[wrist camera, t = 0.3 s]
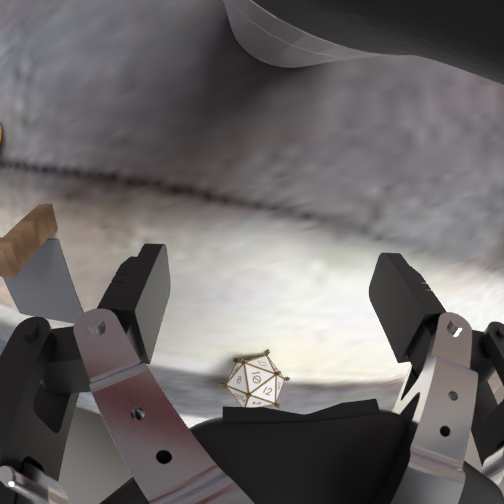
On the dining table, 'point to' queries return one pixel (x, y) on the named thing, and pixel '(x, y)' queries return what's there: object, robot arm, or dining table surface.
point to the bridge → (25, 239)
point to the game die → (255, 382)
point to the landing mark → (45, 286)
